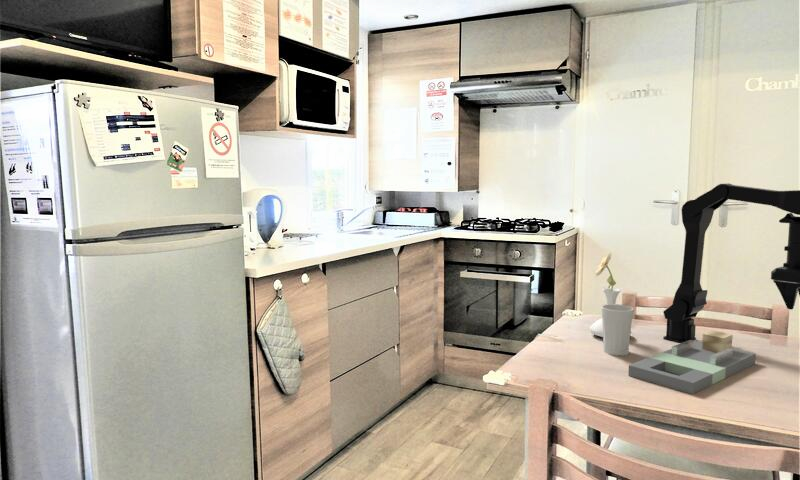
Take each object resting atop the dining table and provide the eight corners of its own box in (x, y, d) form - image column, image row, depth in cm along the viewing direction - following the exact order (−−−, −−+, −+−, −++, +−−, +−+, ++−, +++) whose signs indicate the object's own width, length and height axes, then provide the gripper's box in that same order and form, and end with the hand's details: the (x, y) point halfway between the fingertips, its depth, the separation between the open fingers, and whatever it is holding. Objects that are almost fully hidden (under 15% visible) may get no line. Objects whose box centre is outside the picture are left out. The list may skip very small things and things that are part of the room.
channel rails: (671, 354, 145) (672, 346, 145) (689, 347, 151) (689, 339, 150) (715, 365, 137) (715, 356, 137) (732, 357, 143) (732, 349, 142)
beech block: (702, 349, 149) (702, 333, 149) (711, 345, 152) (712, 330, 152) (722, 353, 145) (723, 338, 145) (731, 350, 148) (732, 334, 148)
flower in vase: (596, 329, 178) (599, 247, 175) (635, 334, 172) (639, 250, 169) (582, 339, 168) (584, 252, 165) (623, 345, 161) (626, 255, 158)
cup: (636, 351, 156) (638, 307, 155) (624, 358, 150) (626, 312, 149) (607, 345, 161) (609, 302, 160) (594, 352, 156) (596, 307, 154)
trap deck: (628, 375, 138) (628, 365, 138) (694, 349, 157) (694, 340, 157) (692, 394, 126) (693, 383, 126) (755, 363, 146) (755, 353, 145)
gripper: (828, 249, 129) (823, 318, 131) (855, 242, 140) (850, 306, 142) (772, 244, 137) (767, 309, 139) (801, 238, 149) (797, 298, 151)
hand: (797, 306), depth 143 cm, fingers open, 9 cm apart
